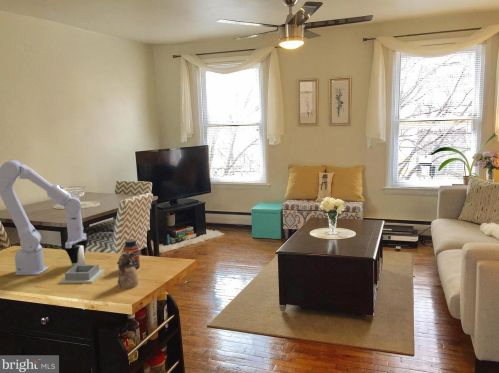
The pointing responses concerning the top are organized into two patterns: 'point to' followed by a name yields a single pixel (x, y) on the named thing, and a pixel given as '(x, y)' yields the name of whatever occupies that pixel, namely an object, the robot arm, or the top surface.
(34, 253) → the robot arm
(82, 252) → the cream white egg
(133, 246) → the supplement bottle
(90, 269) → the cup holder
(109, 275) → the top surface
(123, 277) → the figurine
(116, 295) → the top surface
